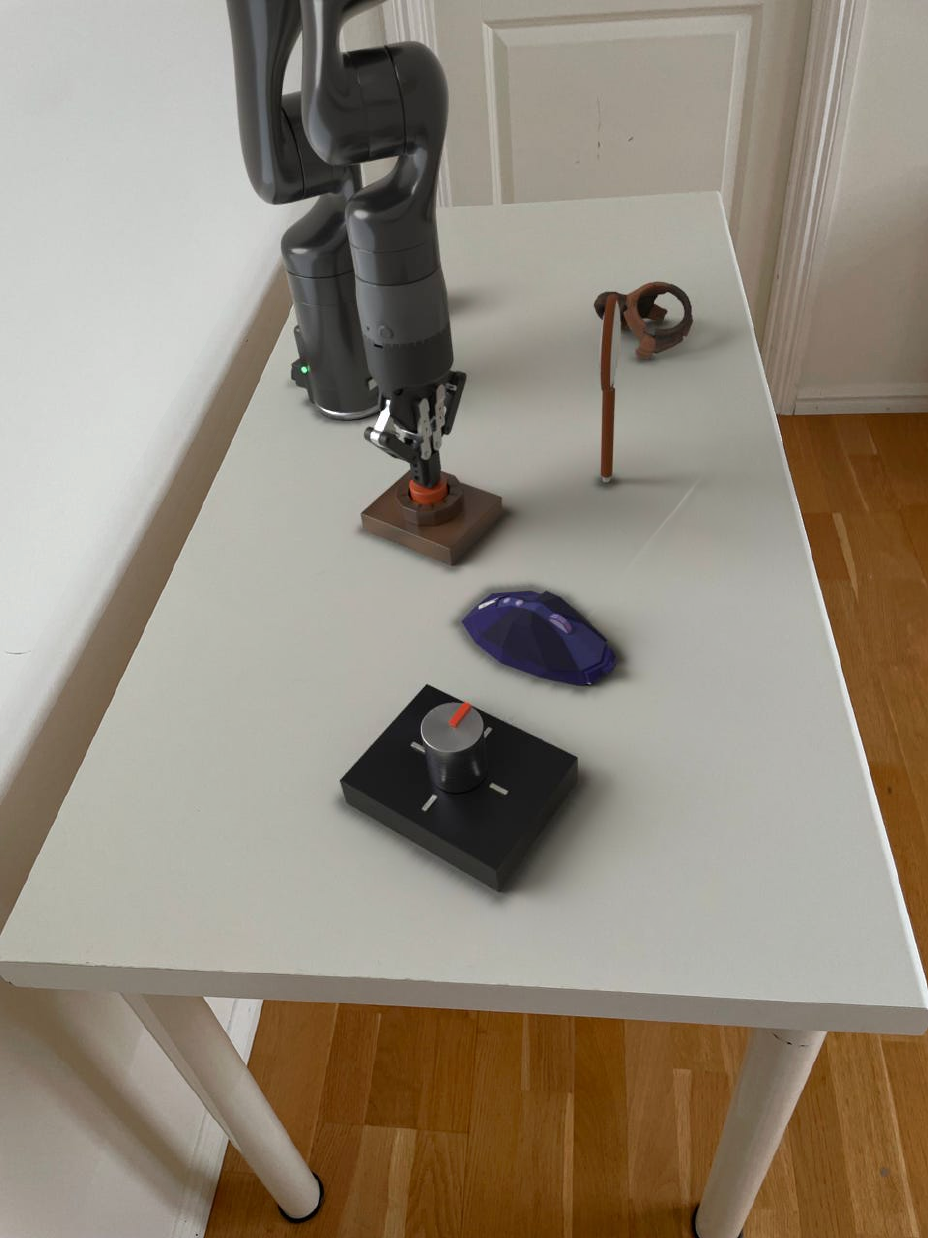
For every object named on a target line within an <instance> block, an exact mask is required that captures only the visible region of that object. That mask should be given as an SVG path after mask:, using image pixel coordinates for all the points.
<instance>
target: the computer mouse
mask: <svg viewBox="0 0 928 1238" xmlns="http://www.w3.org/2000/svg"><path fill="white" fill-rule="evenodd" d="M460 622H461V623H462V625H463V627H464V628H465V630H466V631H467V633H468V634H469V635H470V637H471V639H472V640H473V641H474V643H475V645H477V646H478V647H480V648H481V649H482V650H483V651H485V652H486V653H487V654H488V655H490V656H491V657H493V659H494V660H496V661H497V662H499V663H500V664H502V665H504V666H507V667H510V668H513V669H515V670H517V671H521V672H524V673H526V674H529V675H532V676H534V677H538V678H541V679H545V680H550V681H555V682H560V683H565V684H568V685H574V686H582V685H583V686H584V685H586V684H587V685H588V684H589V685H592V684H593V683H595V682H597V681H599V679H602V677H603V676H604V675H606V674H610V673H611V672H612V671H613V670H614V669H615V668H616V666H617V664H616V663H615V661H616V659H617V654H615V652H614V650H613V649H612V648H611V647H609V646H608V644H607V642H608V638H607V637H605V636H604V635H603V634H602V633H601V631H599V630H598V629H597V628H596V627H595V626H594V625H593V624H592V623H591V622H590V621H589V620H588V619H587V618H586V617H585V616H584V615H582V614H581V613H580V612H579V611H578V610H576V609H575V608H574V607H573V606H572V605H571V604H569V602H567V601H566V600H565V599H564V598H562V597H561V596H559V595H557V594H555V593H552V592H551V591H548V590H545V591H544V592H542V593H539V592H536V591H534V590H519V591H518V590H517V591H505V592H491V593H490V594H489V595H488V596H487V597H485V598H484V599H483V600H482V601H480V602H479V603H478V604H477V605H476V606H474V607H473V608H472V610H471V611H469V613H468V614H467V615H466V616H464V618H463V619H462V620H460Z"/></svg>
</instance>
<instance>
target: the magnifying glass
mask: <svg viewBox="0 0 928 1238" xmlns="http://www.w3.org/2000/svg"><path fill="white" fill-rule="evenodd" d="M600 329H601V330H600V339H599V374H600V388H601V392H602V395H601V396H602V401H601V437H600V438H601V439H600V445H601V447H600V476H601V477H602V482H603V483H609V482H611V477H612V476H613V467H614V439H615V438H614V437H615V436H614V435H615V410H616V409H615V405H616V388H615V387H614V385H615V378H616V376H617V371H618V365H619V359H620V349H621V335H622V334H621V332H622V329H621V322H620V311H619V297H618V295H615V294H611V295H609V296H608V298H607V301H606V307H605V313H604V317H603V321H602V322H601V328H600Z"/></svg>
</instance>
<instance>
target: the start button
mask: <svg viewBox="0 0 928 1238" xmlns="http://www.w3.org/2000/svg"><path fill="white" fill-rule="evenodd" d="M440 476H441V480H440V481H439V482H438V483H437V484H436V485H435V486H434V487H433V488H432V489H428V488H425V487H423V486H420V485H417V484H416V483H414V482H413V480H411V481H410V491H411V498H412V501H414V502H417V503H419V504H434V503H437V502H439V501H442V500H443V499H445V498H446V497H447V496H448V491H447V483H446V479H445V477H444V476H443V475H442V474H440Z"/></svg>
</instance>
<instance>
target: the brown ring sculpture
mask: <svg viewBox="0 0 928 1238" xmlns="http://www.w3.org/2000/svg"><path fill="white" fill-rule="evenodd" d="M667 293H668V294H671V295H673V296H674V297H675V298H676V299H677V300H678V301H680V303H681V306H682V307H683V317H682V319H681V320H680V322H679V323H677V324H676V325H673V326H672V327H667V328H655V329H654V334H652V333H649V332H648V331H647V330H646V329H647V326H648V324H647V323H646V322H645V320H651V321H654V322H657V323H659V324H662V323H663V322H664V320H665V318H666V315H668V312H669V311H668V309H666V308H665V307H661V306H660V305H659V304H657V303H655V302H656V300H657V298H658V297H659V296H660V295H661V296H662V295H665V294H667ZM611 294H615V295H618V297H619V311H620V325H621V330H624V329H625V328H626V327H627V326H628V327H629V328H630V330H631V332H632V333H633V335H634V336H635V337H636V338H637V339H638V340H640V341H639V343H638V347H637V348H636V350H635V356H637V357H639V358H641V359H643V360H648V359H649V358H651V357H652V356H653V354H655V355H659V354H660V353H662V352H665V351H667V350H670V349H672V348H674V347H676V346H678V345H679V344H681V343H682V342H683V341H684V337H687V336H688V335H689V332H690V331H691V327H692V325H693V323H694V317H693V314H692V313H693V306H692V302H691V301H690V297H689V296H688V295H687V293H686V292H685V291H684V290H683V289H682V288H680V287H679V286H677V285H676V284H673V283H669V282H666V281H653V282H648V283H645V284H642V285H641V286H639V288H636V289H634V290H633V291H631V292H630V293H627V294H624V293H620V292H617V291H609V290H608V291H604V292H602V293H600V294H599V295H597V298H596V299H595V300H594V302H593V308H594V310H595V313H596V315H597V317H598V318H599V319H600V320H601V321H602V322H603V317H604V313H605V307H606V301H607V298H608V296H609V295H611Z"/></svg>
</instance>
